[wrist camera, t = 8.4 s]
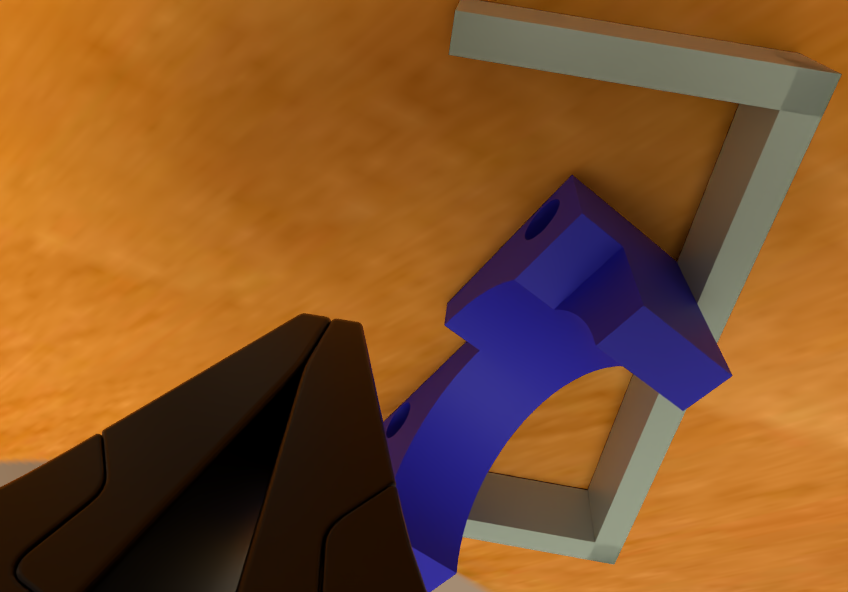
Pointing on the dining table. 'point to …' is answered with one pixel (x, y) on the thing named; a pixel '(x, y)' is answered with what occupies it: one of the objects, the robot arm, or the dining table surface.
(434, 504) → the blue half clamp bracket
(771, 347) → the dining table surface
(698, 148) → the dining table surface
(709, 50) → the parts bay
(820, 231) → the dining table surface
